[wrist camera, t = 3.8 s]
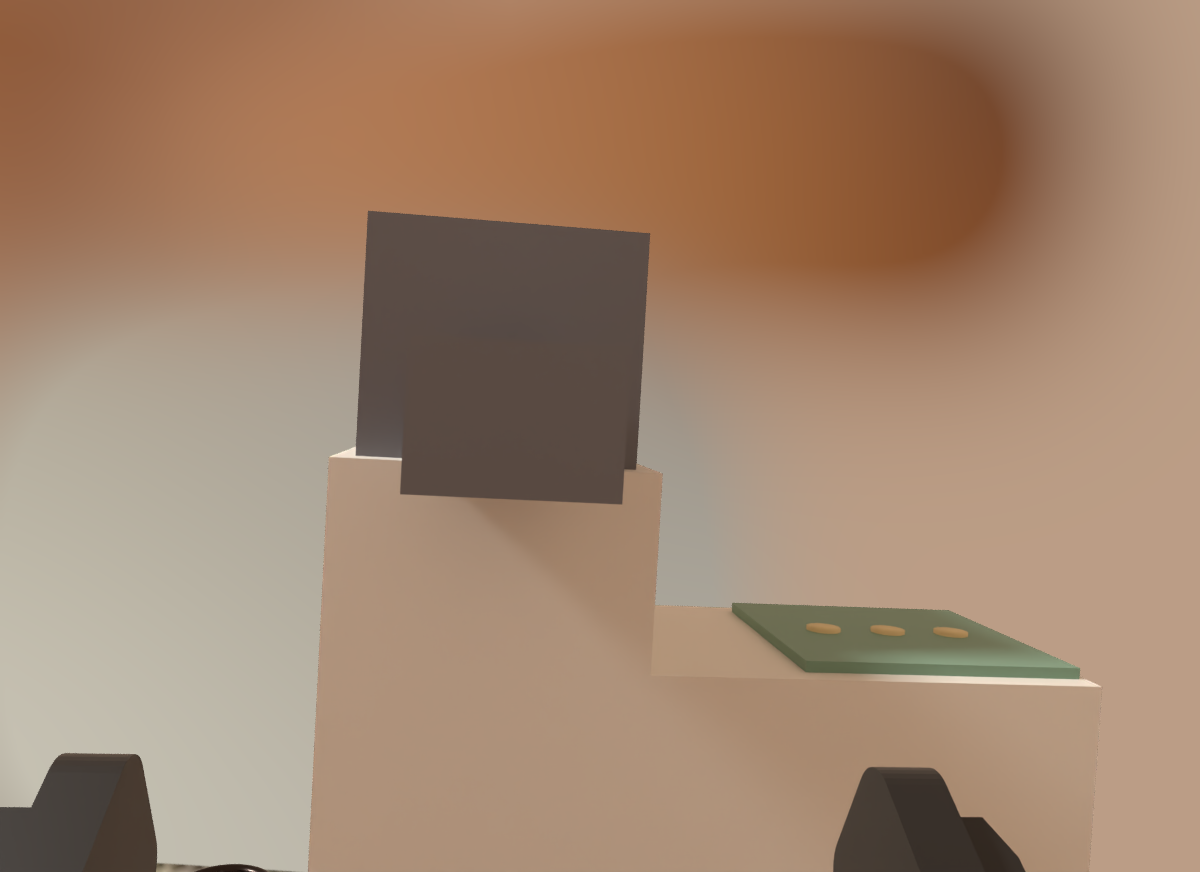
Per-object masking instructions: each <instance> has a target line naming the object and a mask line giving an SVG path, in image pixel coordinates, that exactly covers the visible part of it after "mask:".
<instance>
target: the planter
mask: <svg viewBox="0 0 1200 872" xmlns="http://www.w3.org/2000/svg"><path fill="white" fill-rule="evenodd" d="M196 872H267V871H266V870H264V869H262V868H259V867H255V866H251V865H243V864H227V865H218V866H213V867H208V868H204V869H201V870H198V871H196Z"/></svg>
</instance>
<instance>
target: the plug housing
mask: <svg viewBox="0 0 1200 872" xmlns="http://www.w3.org/2000/svg"><path fill="white" fill-rule="evenodd" d="M649 242H650V233H637V232H624V231H612V230H600V229H588V228H587V229H586V228H575V227H562V226H550V225H538V224H525V223H513V222H500V221H488V220H487V221H486V220H475V219H462V218H449V217H438V216H425V215H413V214H400V213H388V212H387V213H386V212H375V211H368V222H367V242H366V261H365V282H364V300H363V301H364V302H363V320H362V339H361V360H360V379H359V399H358V417H357V437H356V456H370V457H390V458H402V465H401V484H400V494H404V495H426V496H448V497H470V498H491V499H513V500H535V501H556V502H578V503H600V504H621V505H622V501H623V484H624V469H628V470H636V463H637V462H636V461H637V446H638V428H639V412H640V394H641V378H642V362H643V344H644V327H645V311H646V310H645V309H646V293H647V276H648V259H649Z"/></svg>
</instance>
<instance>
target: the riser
mask: <svg viewBox="0 0 1200 872" xmlns="http://www.w3.org/2000/svg"><path fill="white" fill-rule="evenodd" d="M401 465H402V458H390V457H370V456H356V447H353V448H351V449H348V450H346V451H343V452H340V453H338V454H335V455H333V456H330V457H329V467H328V487H327V506H326V526H325V547H324V565H323V566H324V567H323V585H322V605H321V624H320V644H319V664H318V665H319V666H318V683H317V704H316V724H315V743H314V762H313V782H312V783H313V784H312V803H311V822H310V841H309V861H308V872H833V861H834V853H835V848H836V845H837V842H838V839H839V837H840V834H841V831H842V829H843V826H844V823H845V821H846V818H847V815H848V812H849V810H850V807H851V804H852V802H853V799H854V796H855V794H856V791H857V788H858V785H859V783H860V780H861V777H862V775H863V773H864V772H865V770H866V769H867V768H869V767H921V768H933V769H935V770H936V771H937V772H938V773H939V774H940V775H941V776H942V778H943V779H944V781H945V783H946V785H947V787H948V789H949V792H950V794H951V796H952V798H953V801H954V803H955V805H956V807H957V810H958V812H959V814H960V816H961V817H983V818H984V820H985V821H986V822H987V823H988V824H989V825H990V826H991V827H992V828H993V829H994V831H995V832H996V833H997V834H998V835H999V836H1000V837H1001V838H1002V839H1003V841H1004V842H1005V843H1006V844H1007V845H1008V846H1009V847H1010V848H1011V849H1012V850H1013V852H1014V853H1015V854H1016V855H1017V856H1018V857H1019V859H1020V861H1021V863H1022V865H1023V867H1024V869H1025V871H1026V872H1089V863H1090V849H1091V835H1092V821H1093V808H1094V794H1095V779H1096V766H1097V751H1098V738H1099V725H1100V710H1101V697H1102V687H1101V686H1099V685H1097V684H1095V683H1093V682H1090V681H1088V680H1086V679H1084V678H1082V677H1079V676H1080V668H1078V667H1076V666H1073V665H1071V664H1069V663H1067V662H1065V661H1062V660H1060V659H1058V658H1056V657H1053V656H1051V655H1049V654H1047V653H1044V652H1042V651H1040V650H1037V649H1035V648H1033V647H1031V646H1028V645H1026V644H1024V643H1021V642H1019V641H1017V640H1015V639H1012V638H1010V637H1008V636H1006V635H1003V634H1001V633H999V632H997V631H994V630H992V629H990V628H988V627H985V626H983V625H981V624H978V623H976V622H974V621H972V620H969V619H967V618H965V617H962V616H960V615H958V614H956V613H953V612H951V611H949V610H924V609H892V608H865V607H863V608H862V607H836V606H806V605H805V606H804V605H778V604H776V605H775V604H747V603H732V608H722V607H721V608H720V607H693V606H661V605H655V594H656V576H657V559H658V543H659V526H660V510H661V493H662V476H663V474H662V473H660V472H657V471H654V470H652V469H649V468H646V467H644V466H641V465H639V464H636V470H628V469H624V484H623V501H622V505H621V504H600V503H578V502H556V501H535V500H513V499H491V498H470V497H448V496H426V495H404V494H400V484H401Z"/></svg>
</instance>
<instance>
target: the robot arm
mask: <svg viewBox="0 0 1200 872" xmlns="http://www.w3.org/2000/svg"><path fill="white" fill-rule="evenodd" d="M156 865H157V843H156V836H155V831H154V825H153V820H152V814H151V809H150V803H149V798H148V793H147V787H146V781H145V776H144V770H143V765H142V761H141V759H140V757H139V756H138V755H136V754H77V753H65V754H61V755H60V756H58V757H57V758H56V759H55V761H54V762H53V764H52V765H51V767H50V769H49V771H48V773H47V775H46V777H45V779H44V782H43V784H42V786H41V788H40V790H39V792H38V794H37V796H36V799H35V801H34V803H33V805H32V807H31V808H23V807H21V808H20V807H8V808H7V807H0V872H156ZM833 872H1026V871H1025V869H1024V867H1023V865H1022V863H1021V861H1020V859H1019V857H1018V856H1017V855H1016V854H1015V853H1014V852H1013V850H1012V849H1011V848H1010V847H1009V846H1008V845H1007V844H1006V843H1005V842H1004V841H1003V839H1002V838H1001V837H1000V836H999V835H998V834H997V833H996V832H995V831H994V829H993V828H992V827H991V826H990V825H989V824H988V823H987V822H986V821H985V820H984V818H983V817H961V816H960V814H959V812H958V810H957V807H956V805H955V803H954V801H953V798H952V796H951V794H950V792H949V789H948V787H947V785H946V783H945V781H944V779H943V778H942V776H941V775H940V774H939V773H938V772H937V771H936V770H935V769H933V768H921V767H869V768H867V769H866V770H865V772H864V773H863V775H862V777H861V780H860V783H859V785H858V788H857V791H856V794H855V796H854V799H853V802H852V804H851V807H850V810H849V812H848V815H847V818H846V821H845V823H844V826H843V829H842V831H841V834H840V837H839V839H838V842H837V845H836V848H835V853H834V861H833Z"/></svg>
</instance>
